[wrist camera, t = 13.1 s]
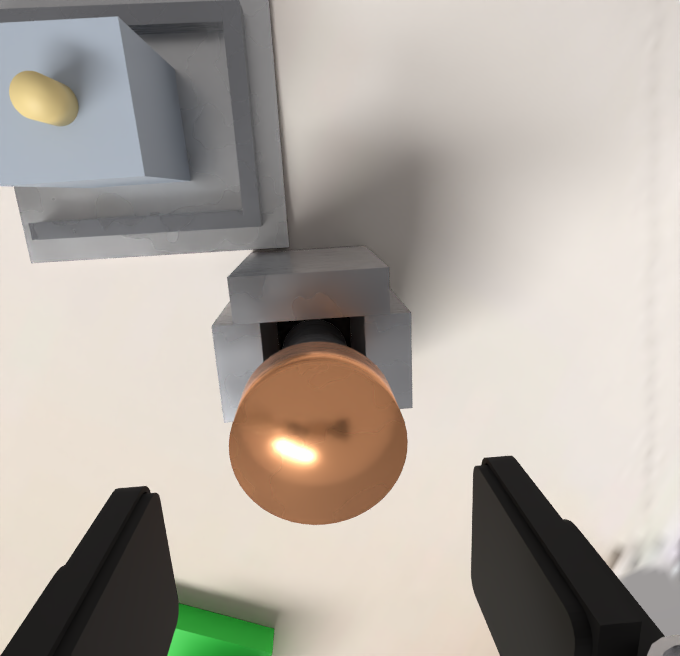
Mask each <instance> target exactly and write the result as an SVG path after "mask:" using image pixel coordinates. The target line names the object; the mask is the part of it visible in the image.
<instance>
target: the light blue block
mask: <svg viewBox="0 0 680 656" xmlns="http://www.w3.org/2000/svg"><path fill="white" fill-rule="evenodd" d="M184 181H191V180H190V173H189V166H188V159H187V152H186V145H185V138H184V131H183V125H182V118H181V111H180V104H179V97H178V90H177V83H176V76H175V70H174V68H173V67H172V66H171V65H169V64H168V63H167V62H166V61H165V60H164V59H163V58H162V57H161V56H160V55H159V54H158V53H157V52H155V51H154V50H153V49H152V48H151V47H150V46H149V45H148V44H147V43H146V42H145V41H144V40H143V39H142V38H140V37H139V36H138V35H137V34H136V33H135V32H134V31H133V30H132V29H131V28H130V27H129V26H128V25H126V24H125V23H124V22H123V21H122V20H121V19H120V18H119V17H118V16H116V17H98V18H80V19H62V20H43V21H25V22H7V23H0V186H17V187H58V188H98V187H112V186H127V185H141V184H156V183H170V182H184Z"/></svg>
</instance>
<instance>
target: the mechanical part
mask: <svg viewBox="0 0 680 656" xmlns="http://www.w3.org/2000/svg"><path fill="white" fill-rule="evenodd" d="M273 638H274V629H273V628H269V627H266V626H262V625H258V624H255V623H251V622H247V621H243V620H240V619H236V618H232V617H228V616H225V615H221V614H217V613H214V612H210V611H206V610H202V609H199V608H195V607H191V606H188V605H184V604H180V603H179V615H178V621H177V626H176V629H175V632H174V635H173V639H172V642H171V645H170V648H169V652H168V655H167V656H271V655H272V650H273Z"/></svg>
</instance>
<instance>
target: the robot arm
mask: <svg viewBox="0 0 680 656" xmlns="http://www.w3.org/2000/svg"><path fill="white" fill-rule="evenodd" d="M471 579H472V586H473V590H474V593H475V596H476V599H477V601H478V603H479V606H480V608H481V611H482V613H483V615H484V618H485V620H486V623H487V625H488V628H489V630H490V632H491V635H492V637H493V640H494V642H495V644H496V647H497V649H498V652H499V654H500V656H680V635H672V636H666V637H665V636H664V635H663V633H662V632H661V631H660V630H659V628H658V627H657V626H656V625H655V623H654V622H653V621H652V620H651V619H650V617H649V616H648V615H647V614H646V612H645V611H644V610H643V609H642V607H641V606H640V605H639V604H638V602H637V601H636V600H635V599H634V597H633V596H632V595H631V594H630V592H629V591H628V590H627V589H626V588H625V586H624V585H623V584H622V583H621V581H620V580H619V579H618V578H617V576H616V575H615V574H614V573H613V571H612V570H611V569H610V568H609V566H608V565H607V564H606V563H605V561H604V560H603V559H602V558H601V556H600V555H599V554H598V553H597V551H596V550H595V549H594V548H593V546H592V545H591V544H590V543H589V542H588V540H587V539H586V538H585V537H584V535H583V534H582V533H581V532H580V530H579V529H578V528H577V527H576V526H575V525H574V524H573V523H572V522H571V521H569V520H566V519H564V520H563V519H562V518H561V517H560V515H559V514H558V513H557V512H556V510H555V509H554V508H553V506H552V505H551V504H550V503H549V501H548V500H547V499H546V497H545V496H544V495H543V494H542V492H541V491H540V490H539V488H538V487H537V486H536V485H535V483H534V482H533V481H532V479H531V478H530V477H529V476H528V474H527V473H526V472H525V471H524V469H523V468H522V467H521V465H520V464H519V463H518V462H517V460H516V459H515V458H514V457H513V456H501V457H489V458H484V459H483V460H482V465H481V466H475V467H474V471H473V508H472V555H471ZM178 615H179V603H178V596H177V591H176V585H175V580H174V574H173V568H172V563H171V557H170V552H169V546H168V540H167V535H166V529H165V524H164V518H163V512H162V507H161V501H160V497H159V495H158V494H157V493H150V490H149V488H148V487H147V486H141V487H129V488H118V489H115V491H114V492H113V493H112V494H111V496H110V497H109V499H108V500H107V502H106V504H105V505H104V507H103V508H102V510H101V511H100V513H99V514H98V516H97V517H96V519H95V520H94V522H93V523H92V525H91V526H90V528H89V529H88V531H87V533H86V534H85V536H84V537H83V539H82V540H81V542H80V543H79V545H78V546H77V548H76V549H75V551H74V552H73V554H72V555H71V557H70V559H69V560H68V562H67V563H66V565H64V566H62V567H61V568H60V569H59V570H58V571H57V572H56V573H55V575H54V576H53V578H52V579H51V581H50V582H49V584H48V585H47V587H46V588H45V590H44V591H43V593H42V594H41V596H40V597H39V599H38V600H37V602H36V603H35V605H34V606H33V608H32V609H31V611H30V612H29V614H28V615H27V617H26V618H25V620H24V621H23V623H22V624H21V626H20V627H19V629H18V630H17V632H16V633H15V635H14V636H13V638H12V639H11V641H10V642H9V644H8V645H7V647H6V648H5V650H4V651H3V653H2V654H1V656H167V655H168V652H169V648H170V645H171V642H172V639H173V635H174V632H175V629H176V626H177V621H178Z"/></svg>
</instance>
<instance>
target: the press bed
mask: <svg viewBox="0 0 680 656" xmlns="http://www.w3.org/2000/svg"><path fill="white" fill-rule="evenodd" d="M116 16H118V17H119V18H120V19H121V20H122V21H123V22H124V23H125V24H126V25H128V26H129V27H130V28H131V29H132V30H133V31H134V32H135V33H136V34H137V35H138V36H139V37H140V38H142V39H143V40H144V41H145V42H146V43H147V44H148V45H149V46H150V47H151V48H152V49H153V50H154V51H155V52H157V53H158V54H159V55H160V56H161V57H162V58H163V59H164V60H165V61H166V62H167V63H168V64H169V65H171V66H172V67H173V68H174V70H175V76H176V83H177V90H178V97H179V104H180V111H181V118H182V125H183V131H184V138H185V145H186V152H187V159H188V166H189V173H190V180H191V181H184V182H170V183H156V184H141V185H127V186H112V187H98V188H58V187H17V186H14V189H15V194H16V198H17V203H18V207H19V211H20V216H21V220H22V225H23V229H24V233H25V238H26V242H27V247H28V251H29V255H30V260H31V263H41V262H58V261H74V260H90V259H106V258H122V257H139V256H155V255H171V254H187V253H203V252H219V251H236V250H252V249H268V248H284V247H289V238H288V226H287V214H286V202H285V190H284V177H283V165H282V153H281V141H280V129H279V117H278V104H277V92H276V80H275V68H274V56H273V44H272V32H271V19H270V7H269V0H0V23H7V22H25V21H43V20H62V19H80V18H98V17H116Z"/></svg>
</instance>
